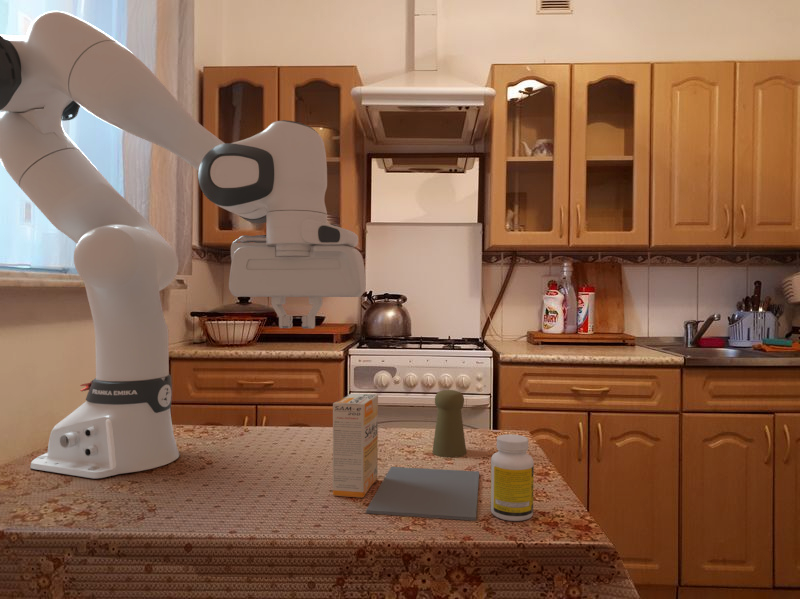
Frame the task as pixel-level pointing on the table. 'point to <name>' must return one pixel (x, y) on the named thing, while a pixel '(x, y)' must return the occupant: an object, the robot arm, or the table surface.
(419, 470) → the mat
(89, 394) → the robot arm
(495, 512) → the supplement bottle
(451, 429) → the green pepper mill
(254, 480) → the table surface
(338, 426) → the supplement box
